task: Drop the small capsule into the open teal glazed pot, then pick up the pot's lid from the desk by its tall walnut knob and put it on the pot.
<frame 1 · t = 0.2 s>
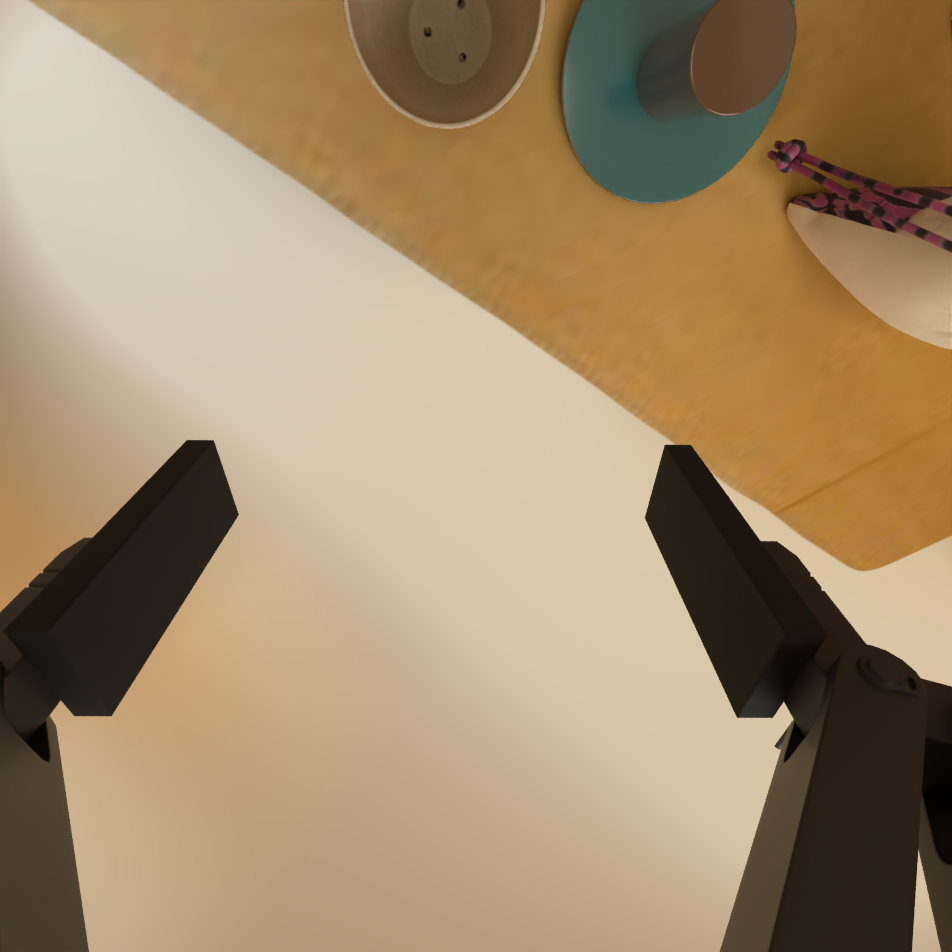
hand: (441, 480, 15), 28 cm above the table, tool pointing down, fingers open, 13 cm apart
lid: (672, 75, 30), point 1 cm above the table
flower pot: (450, 32, 30), on the table
pouch: (871, 249, 37), on the table
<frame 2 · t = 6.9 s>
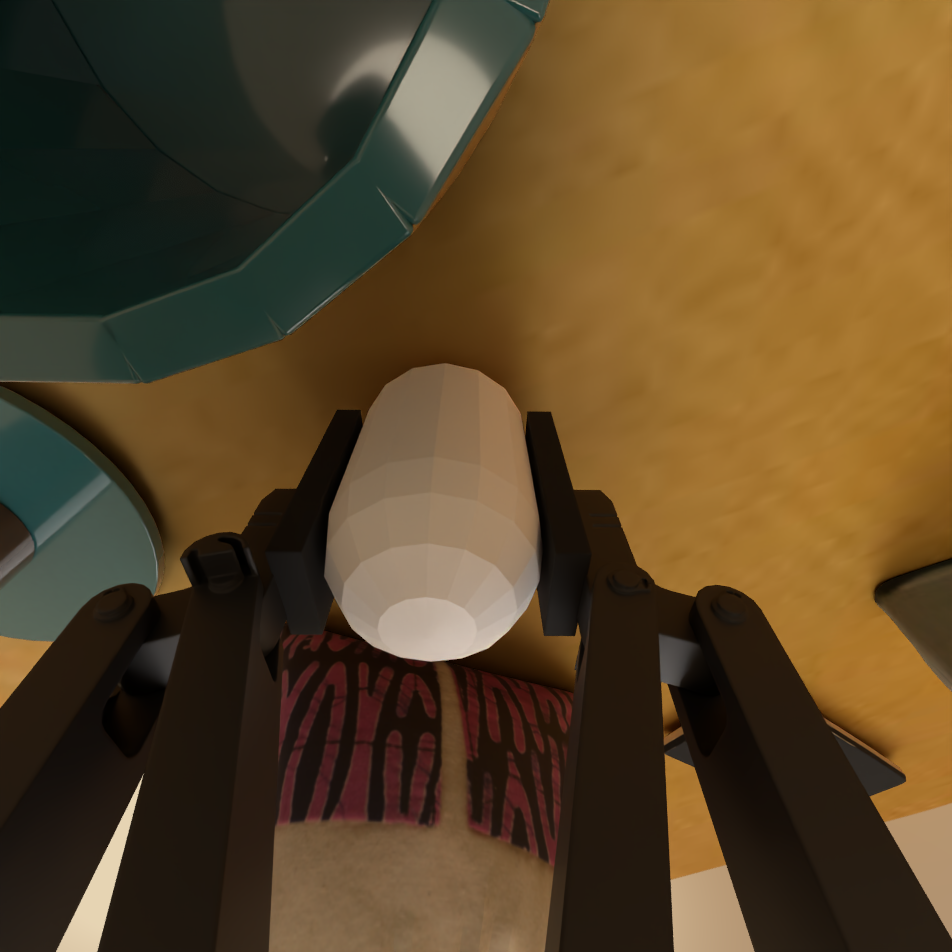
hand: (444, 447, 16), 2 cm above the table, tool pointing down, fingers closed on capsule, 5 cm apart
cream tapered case: (940, 570, 22), on the table
capsule: (445, 435, 16), point 1 cm above the table, touching gripper
pouch: (438, 660, 26), on the table
smartphone: (778, 744, 30), on the table
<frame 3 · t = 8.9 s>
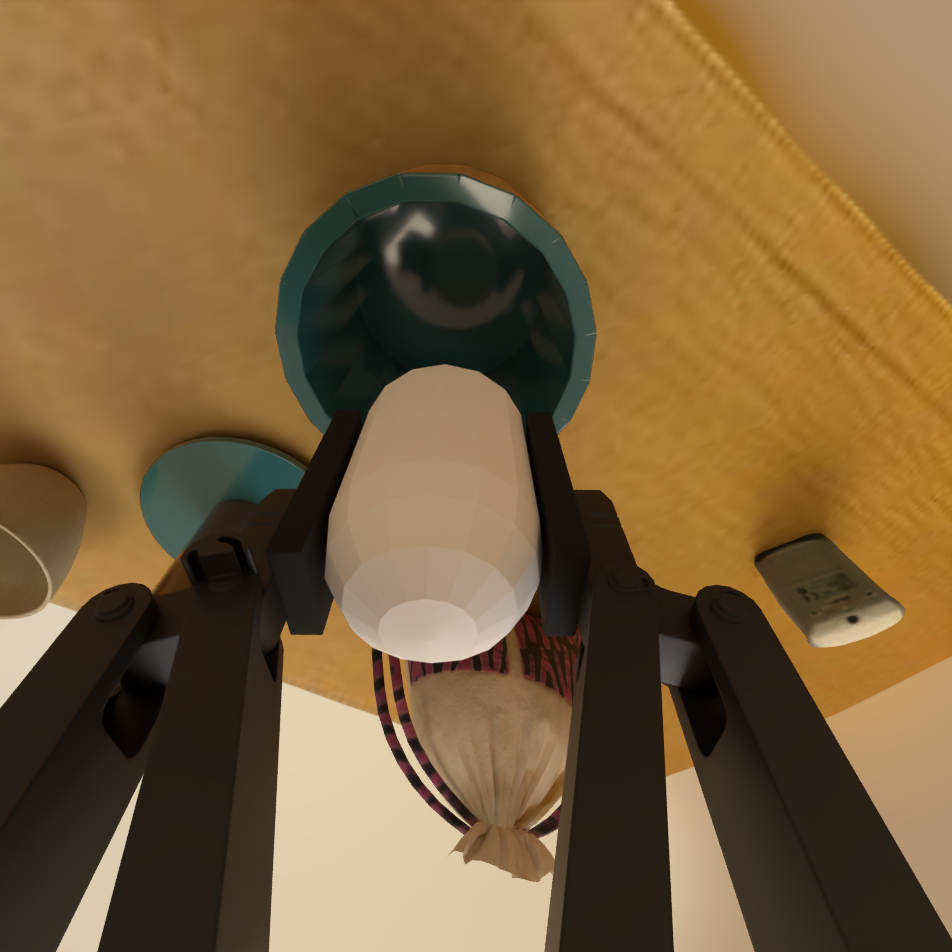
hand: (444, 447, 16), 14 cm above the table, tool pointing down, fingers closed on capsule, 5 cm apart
lid: (247, 520, 35), point 1 cm above the table
flower pot: (48, 490, 34), on the table
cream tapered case: (791, 547, 37), on the table
capsule: (445, 436, 16), point 13 cm above the table, touching gripper
pot: (450, 289, 27), on the table
pouch: (492, 606, 41), on the table
when the fingers open (10 cm above the table, at t = 10.7 s): capsule drops 9 cm, resting on pot.
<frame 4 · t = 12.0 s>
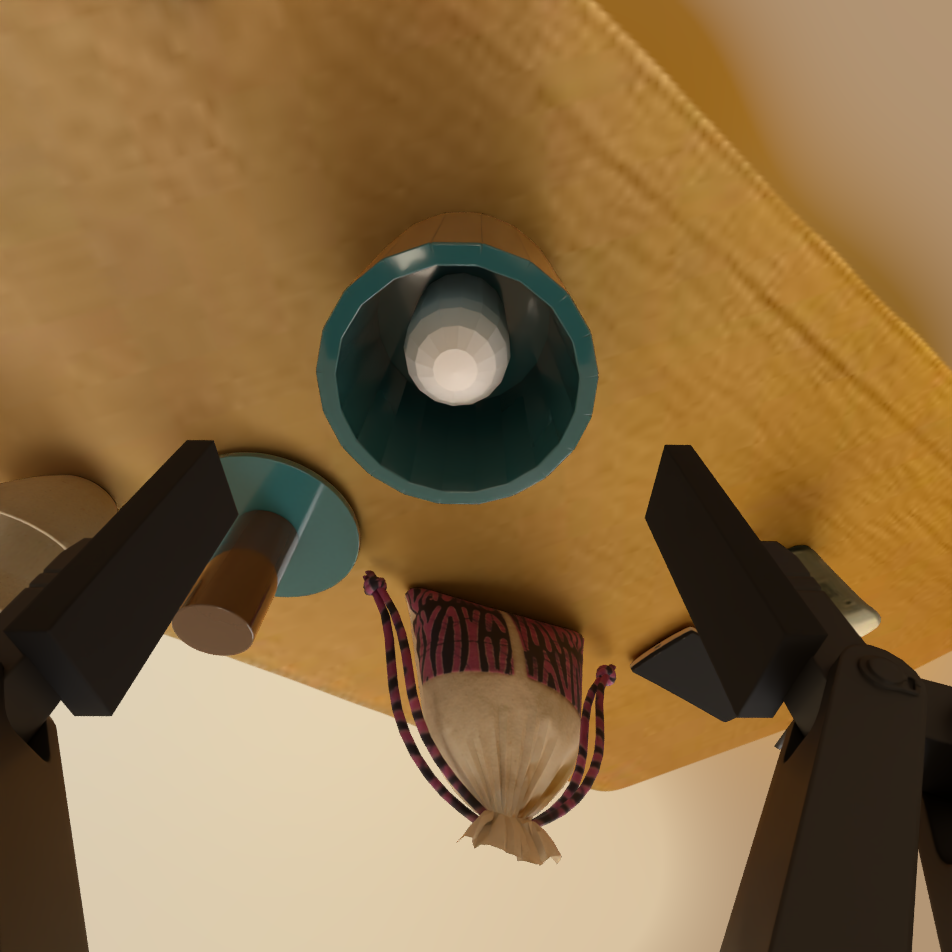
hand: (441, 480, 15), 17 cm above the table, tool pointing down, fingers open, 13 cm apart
lid: (269, 529, 37), point 1 cm above the table
flower pot: (83, 499, 37), on the table
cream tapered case: (779, 558, 40), on the table
capsule: (460, 319, 29), resting on pot
pot: (463, 321, 29), on the table
pouch: (497, 611, 44), on the table
smartphone: (704, 669, 48), on the table
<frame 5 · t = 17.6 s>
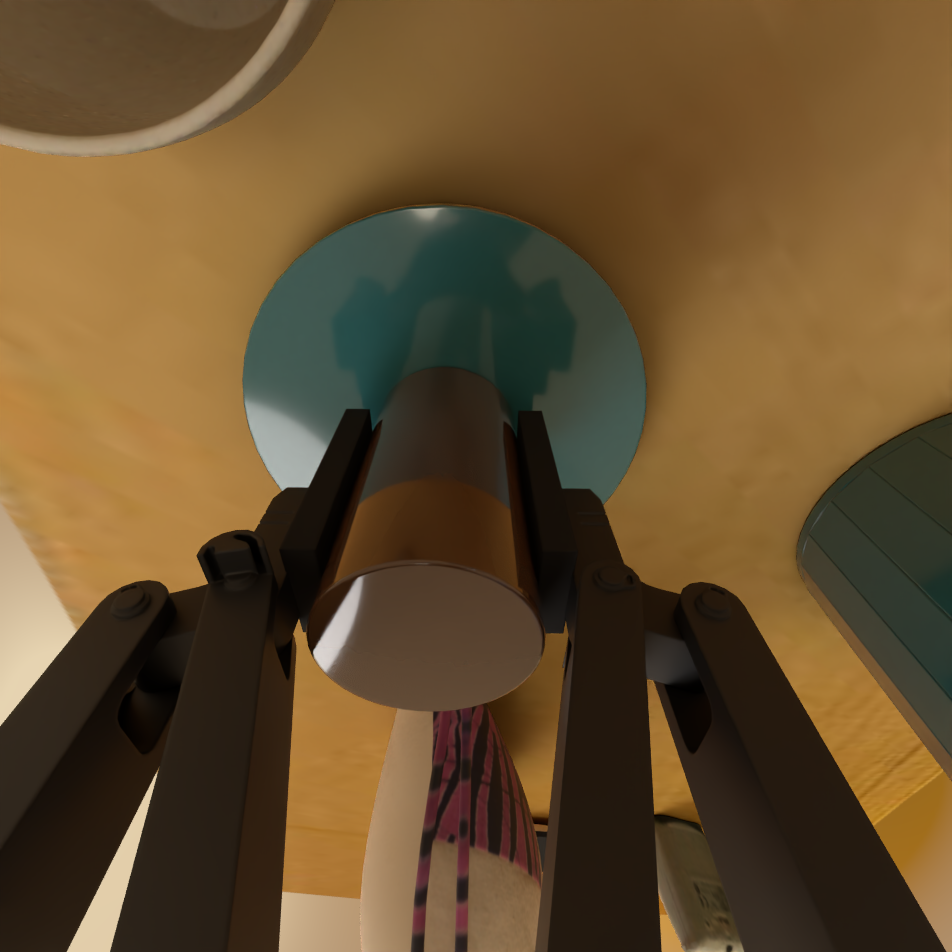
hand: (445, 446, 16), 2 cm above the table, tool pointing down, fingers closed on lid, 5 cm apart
lid: (447, 422, 18), point 1 cm above the table, touching gripper
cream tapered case: (675, 821, 39), on the table
pot: (936, 521, 21), on the table
pouch: (459, 710, 30), on the table
smartphone: (501, 851, 42), on the table
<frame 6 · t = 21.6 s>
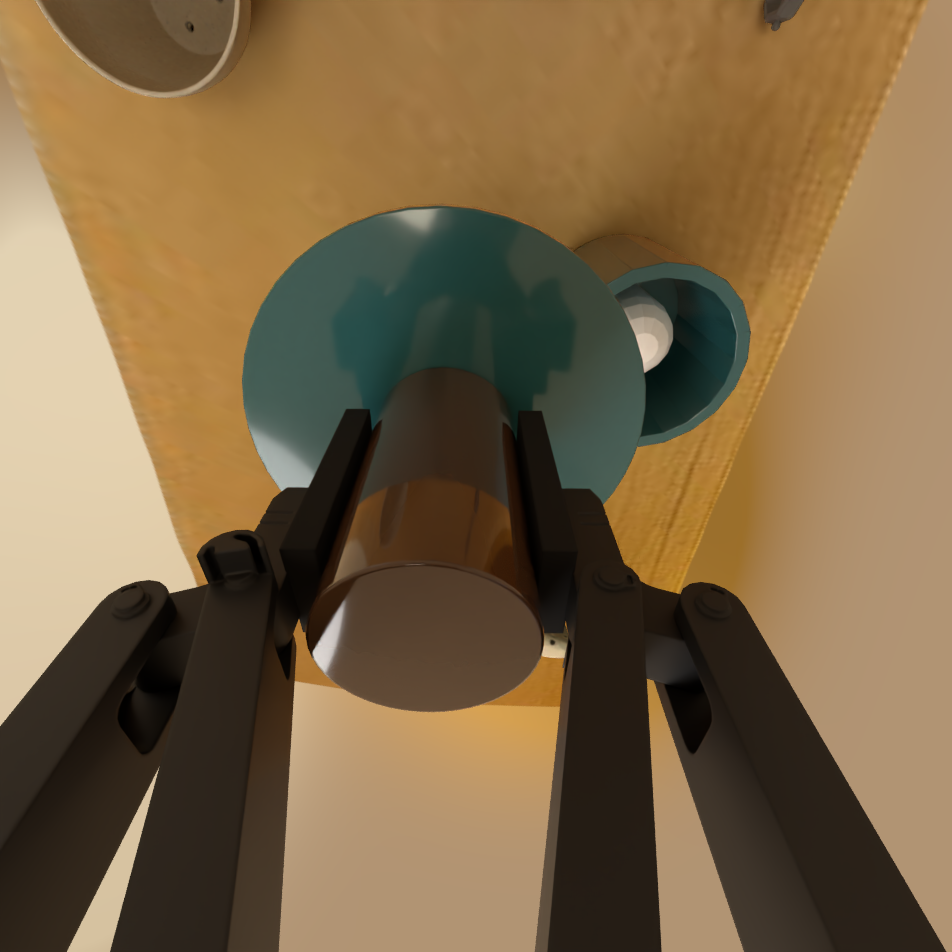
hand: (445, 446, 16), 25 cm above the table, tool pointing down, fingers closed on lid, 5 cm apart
lid: (446, 422, 18), point 23 cm above the table, touching gripper
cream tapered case: (537, 592, 56), on the table
capsule: (612, 313, 38), resting on pot
pot: (610, 315, 38), on the table
when the fingers open (12 cm above the table, at t = 25.9 s): lid stays where it is, resting on pot.
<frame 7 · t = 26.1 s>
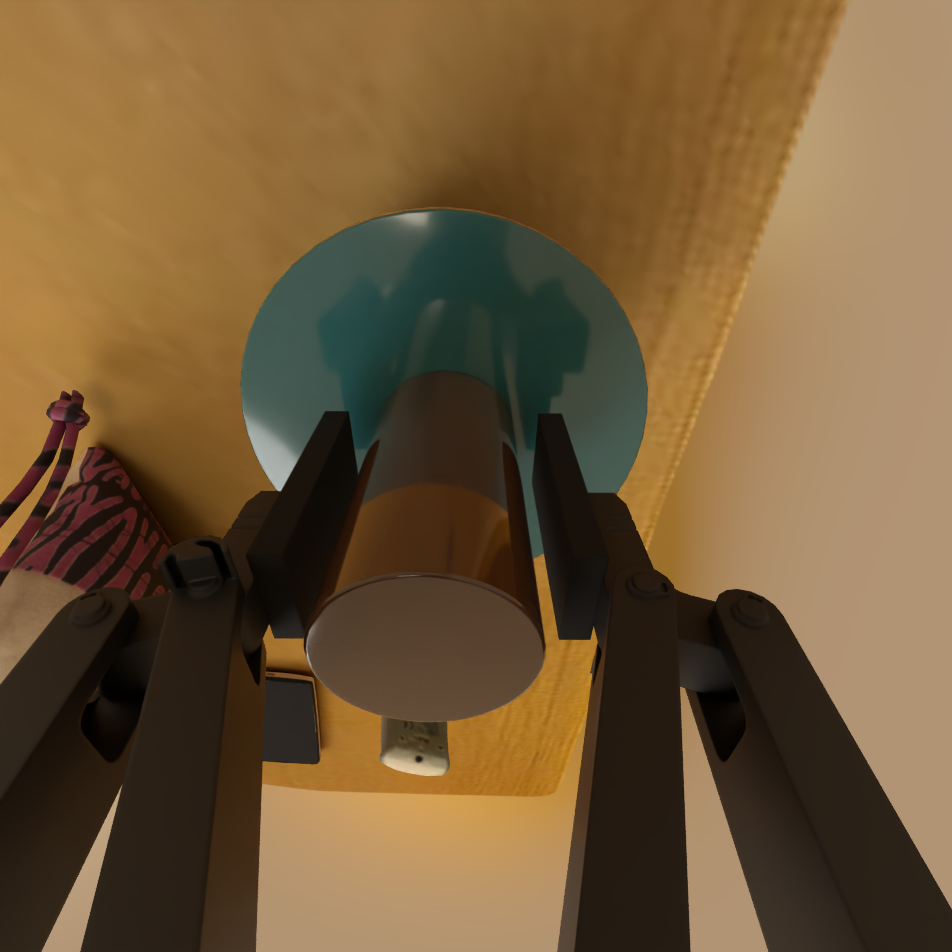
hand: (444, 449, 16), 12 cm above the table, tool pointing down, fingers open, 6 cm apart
lid: (446, 426, 17), point 10 cm above the table, touching pot
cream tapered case: (421, 676, 44), on the table
pouch: (166, 541, 35), on the table
smartphone: (281, 711, 47), on the table
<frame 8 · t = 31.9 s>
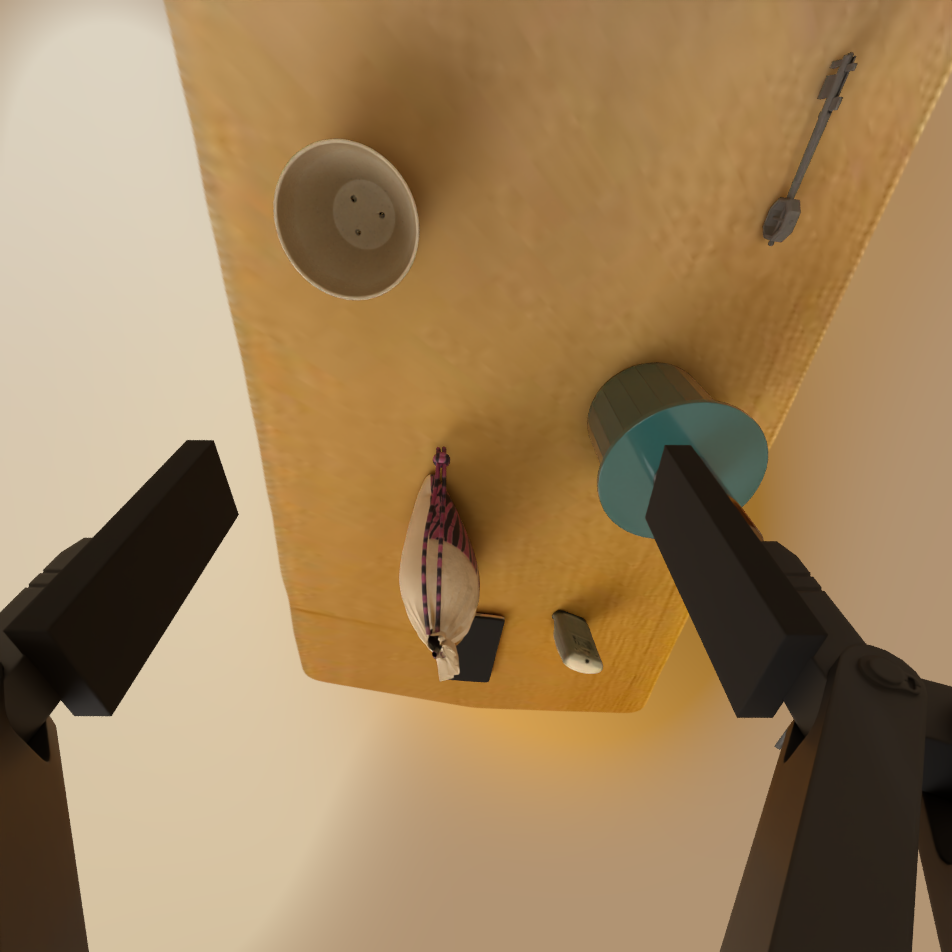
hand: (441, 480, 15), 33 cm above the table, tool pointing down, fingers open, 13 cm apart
lid: (679, 473, 41), point 10 cm above the table, touching pot
flower pot: (366, 213, 40), on the table
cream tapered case: (571, 617, 68), on the table
pot: (643, 415, 50), on the table
key: (792, 157, 38), on the table
pouch: (444, 528, 59), on the table
smartphone: (471, 643, 71), on the table
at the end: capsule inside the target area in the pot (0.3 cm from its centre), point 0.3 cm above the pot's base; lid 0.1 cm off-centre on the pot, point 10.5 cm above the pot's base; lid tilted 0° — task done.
